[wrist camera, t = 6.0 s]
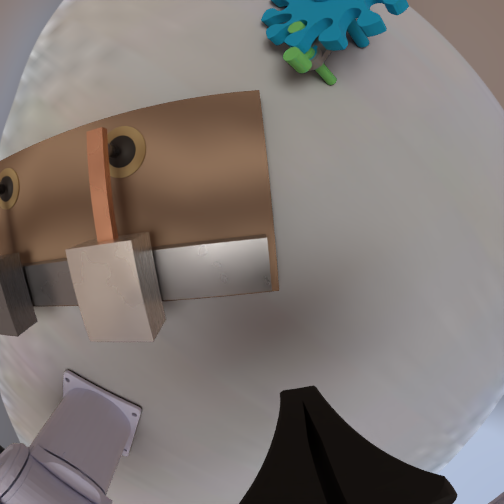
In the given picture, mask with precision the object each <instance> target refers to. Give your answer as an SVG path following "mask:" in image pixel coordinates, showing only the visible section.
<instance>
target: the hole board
mask: <svg viewBox="0 0 504 504" xmlns="http://www.w3.org/2000/svg"><path fill="white" fill-rule="evenodd" d="M100 127H104V128H106V129H107V138H108V143H110V144H113V145H117V146H118V147H119V148H120V154H119V156H118V157H116V158H109V168H110V179H111V189H112V198H113V206H114V213H115V220H116V227H117V233H118V236H121V235H128V234H135V233H142V232H149V234H150V241H151V247H155V246H163V245H172V244H180V243H189V242H198V241H206V240H215V239H225V238H234V237H243V236H253V235H262V234H266V236H267V241H268V252H269V263H270V274H271V285H272V291H279V283H278V271H277V259H276V247H275V235H274V224H273V214H272V203H271V193H270V183H269V173H268V164H267V154H266V145H265V136H264V127H263V118H262V110H261V102H260V93H259V90H255V91H243V92H233V93H224V94H217V95H209V96H202V97H196V98H190V99H184V100H179V101H173V102H168V103H164V104H159V105H154V106H150V107H146V108H141V109H137V110H133V111H130V112H126V113H122V114H118V115H115V116H112V117H108V118H105V119H102V120H98V121H95V122H92V123H89V124H86V125H83V126H80V127H77V128H75V129H72V130H69V131H66V132H64V133H61V134H59V135H56V136H53V137H51V138H49V139H46V140H44V141H41V142H39V143H37V144H34V145H32V146H30V147H28V148H26V149H23V150H21V151H19V152H17V153H15V154H13V155H11V156H9V157H7V158H5V159H3V160H1V161H0V184H4V185H5V187H6V190H5V193H4V194H2V195H0V256H2V255H7V254H13V253H18V252H19V255H20V260H21V264H25V263H32V262H39V261H47V260H54V259H61V258H67V256H66V251H65V250H66V249H68V248H71V247H73V246H76V245H78V244H81V243H83V242H86V241H89V240H94V239H97V235H96V229H95V223H94V216H93V209H92V201H91V192H90V183H89V171H88V157H87V135H86V132H87V131H90V130H94V129H97V128H100ZM264 292H270V291H264ZM255 293H261V292H255ZM245 294H252V293H245ZM235 295H242V294H235ZM225 296H232V295H225ZM214 297H221V296H214ZM202 298H210V297H202ZM190 299H198V298H190ZM177 300H186V299H177ZM163 301H172V300H163ZM59 306H79V305H59Z"/></svg>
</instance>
